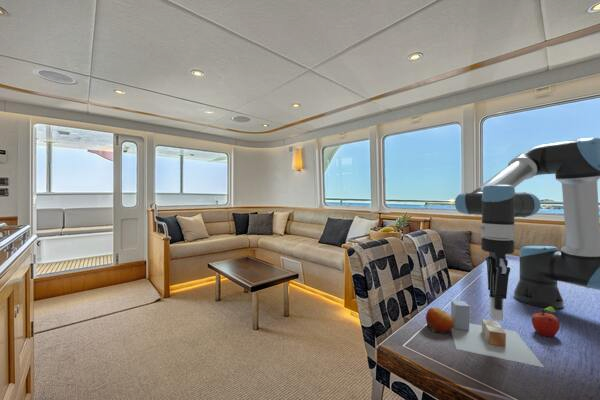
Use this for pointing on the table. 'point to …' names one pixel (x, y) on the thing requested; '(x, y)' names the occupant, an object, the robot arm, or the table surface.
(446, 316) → the fruit
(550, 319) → the apple
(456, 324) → the slate block
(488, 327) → the beech block
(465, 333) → the felt mat
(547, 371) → the table surface
